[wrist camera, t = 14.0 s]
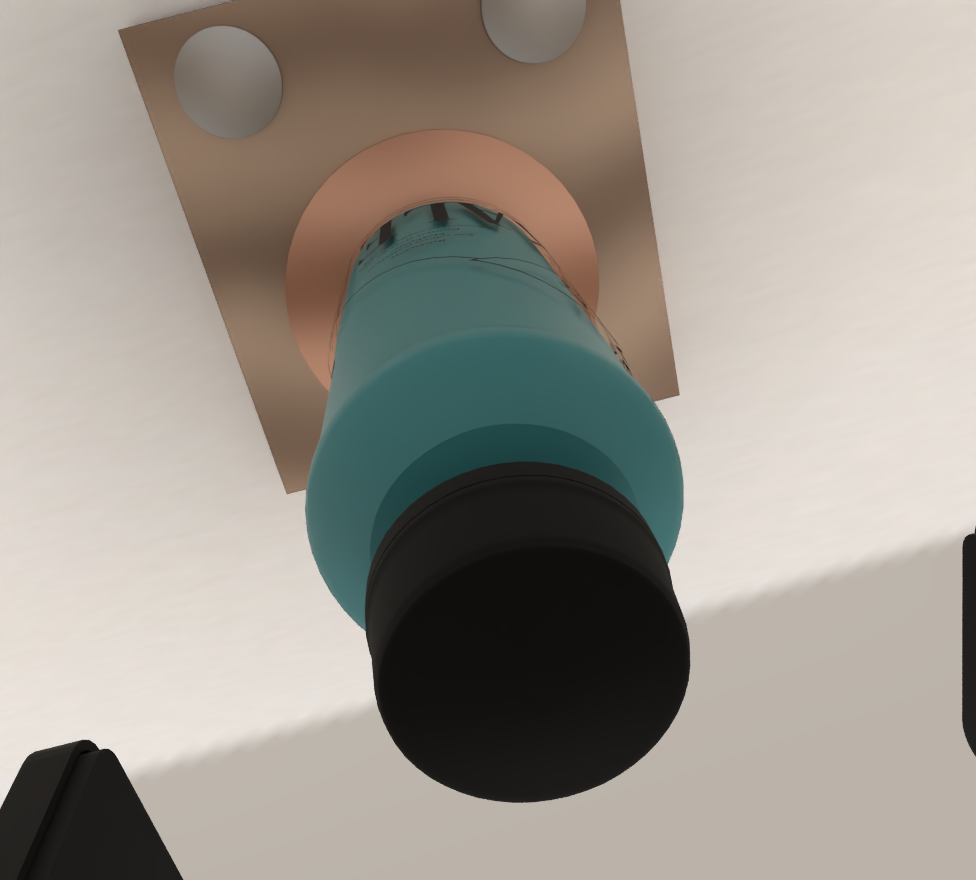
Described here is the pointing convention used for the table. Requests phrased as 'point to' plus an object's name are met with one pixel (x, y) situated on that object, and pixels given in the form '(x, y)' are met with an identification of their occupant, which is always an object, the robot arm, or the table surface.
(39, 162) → the table surface
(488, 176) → the board
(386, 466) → the beverage bottle
